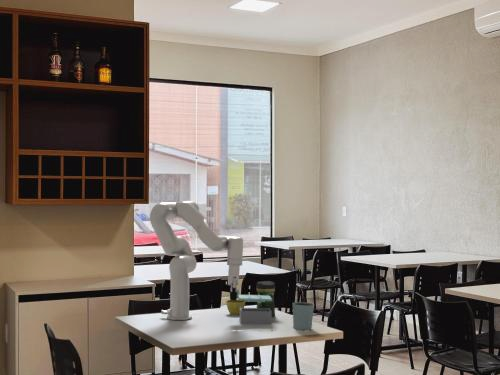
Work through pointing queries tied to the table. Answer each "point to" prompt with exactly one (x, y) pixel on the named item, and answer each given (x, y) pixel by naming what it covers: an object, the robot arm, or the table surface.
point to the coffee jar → (267, 290)
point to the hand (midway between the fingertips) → (233, 299)
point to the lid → (253, 297)
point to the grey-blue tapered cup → (302, 315)
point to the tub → (255, 316)
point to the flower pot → (235, 306)
